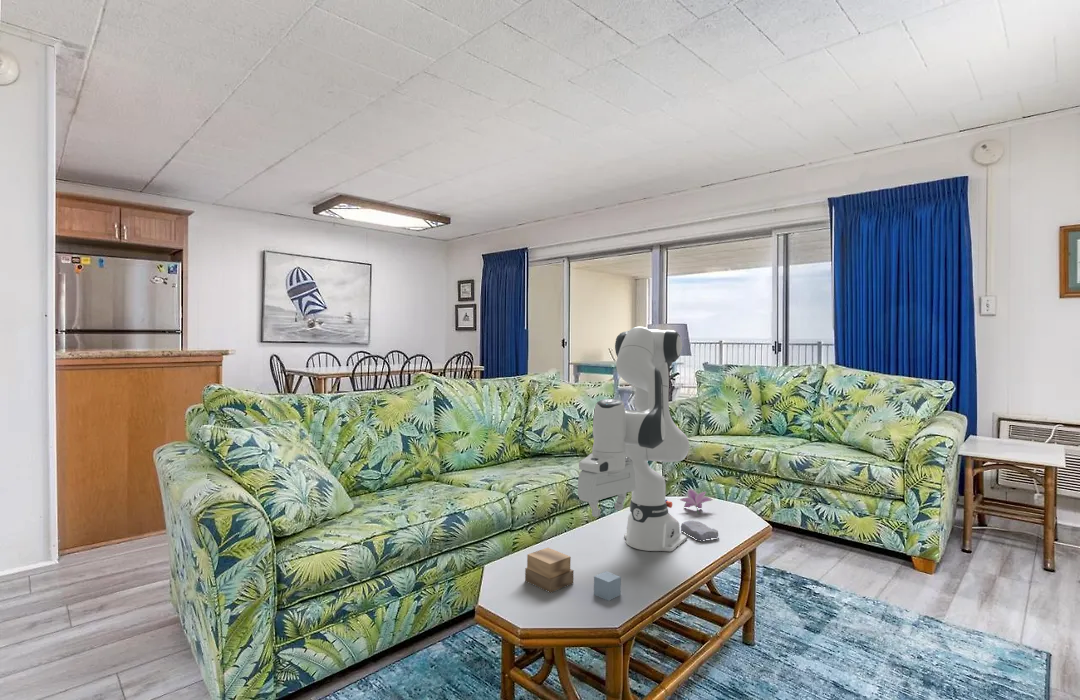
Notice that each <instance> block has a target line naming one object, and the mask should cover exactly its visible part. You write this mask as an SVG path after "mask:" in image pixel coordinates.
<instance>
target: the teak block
mask: <svg viewBox="0 0 1080 700" xmlns="http://www.w3.org/2000/svg"><path fill="white" fill-rule="evenodd" d="M526 557H527V561H526V565H527V567H526V568H527V569H529V570H531V571H533V572H536V573H538V574H540V575H542V576H544V577H547V578H549V579H551V578H553V577H556V576H559V575H561V574H564V573H566V572H569V571H570V569H571V561H572V560H571V559H572V558H571V556H570V555H567V554H565V553H563V552H560V551H558V550H555V549H552V548H550V547H545V548H543V549H540V550H537V551H535V552H534V551H533V552H531V553H530V552H529V553H528V554H527V555H526Z"/></svg>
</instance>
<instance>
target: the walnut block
mask: <svg viewBox="0 0 1080 700" xmlns="http://www.w3.org/2000/svg"><path fill="white" fill-rule="evenodd" d="M574 571H575V570H573V569H571V568H570V571H569V572H566V573H564V574H561V575H559V576H556V577H553V578H551V579H549V578H547V577H544V576H542V575H540V574H538V573H536V572H533V571H531V570H529V569H527V567H526V568H525V570H524V572H525V573H524V574H525V575H524V576H525V577H524V579H525V580H524V582H526V581H527V582H526V583H528V582H529V583H528V584H530V583H531V584H530V585H532V584H534V585H536V586H535V587H537V586H538V587H537V588H539V587H540V588H539V589H541V588H542V589H541V590H543V589H544V590H543V591H545V590H547V591H549V592H548V593H549V594H552V593H554V592H556V590H557V591H559V590H561V589H563V588H565V586H566V587H567V585H568V586H570V585H573V584H574V573H575V572H574ZM572 583H573V584H572ZM534 585H533V586H534ZM562 587H563V588H562ZM560 588H561V589H560ZM558 589H559V590H558ZM547 591H546V592H547ZM553 591H554V592H553ZM551 592H552V593H551Z"/></svg>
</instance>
